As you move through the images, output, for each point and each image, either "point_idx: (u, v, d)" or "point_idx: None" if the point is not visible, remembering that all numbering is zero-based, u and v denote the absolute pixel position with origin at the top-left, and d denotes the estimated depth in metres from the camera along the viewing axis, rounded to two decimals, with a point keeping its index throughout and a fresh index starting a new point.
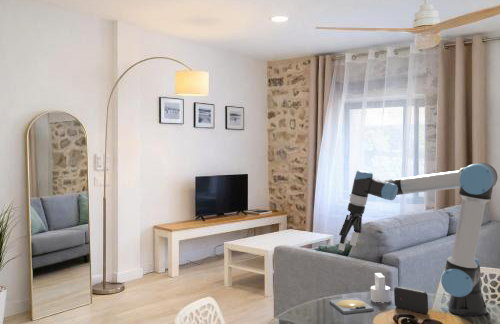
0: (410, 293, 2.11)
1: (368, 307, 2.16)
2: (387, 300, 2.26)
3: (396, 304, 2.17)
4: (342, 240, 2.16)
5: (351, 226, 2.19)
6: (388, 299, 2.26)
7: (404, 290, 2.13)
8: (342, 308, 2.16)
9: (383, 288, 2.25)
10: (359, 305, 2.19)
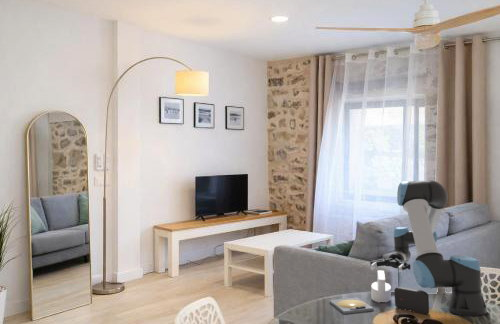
0: (411, 293, 2.10)
1: (368, 307, 2.16)
2: (386, 300, 2.26)
3: (396, 304, 2.16)
4: None
5: (384, 260, 2.50)
6: (387, 299, 2.26)
7: (405, 290, 2.13)
8: (342, 308, 2.16)
9: (382, 289, 2.24)
10: (359, 305, 2.19)
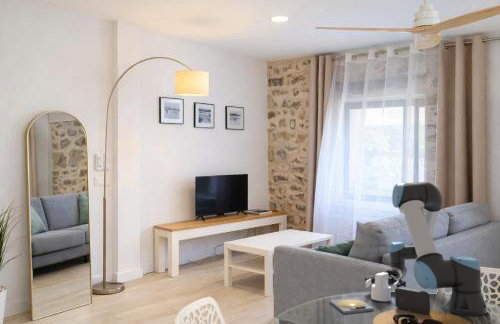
0: (412, 294, 2.10)
1: (368, 307, 2.16)
2: (381, 299, 2.26)
3: (397, 305, 2.15)
4: None
5: None
6: (383, 298, 2.26)
7: (405, 291, 2.12)
8: (342, 308, 2.16)
9: (378, 286, 2.26)
10: (359, 305, 2.19)
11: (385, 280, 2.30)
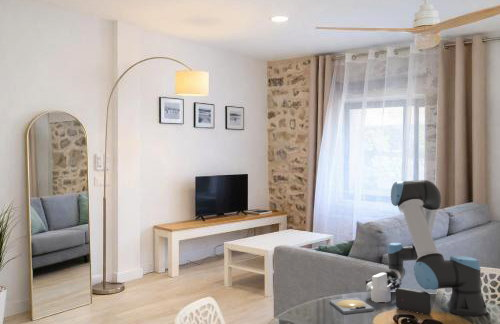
0: (412, 294, 2.09)
1: (368, 307, 2.16)
2: (380, 300, 2.26)
3: (397, 305, 2.15)
4: None
5: None
6: (382, 300, 2.26)
7: (406, 291, 2.12)
8: (342, 308, 2.16)
9: (376, 288, 2.26)
10: (359, 305, 2.19)
11: (383, 280, 2.29)
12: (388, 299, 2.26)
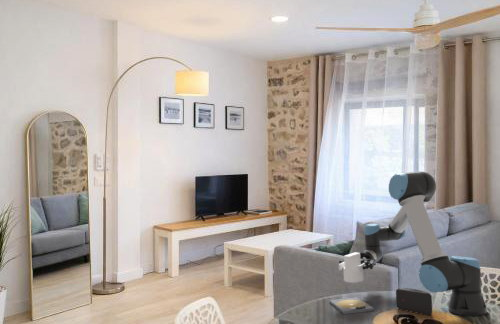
0: (413, 294, 2.09)
1: (368, 307, 2.16)
2: (352, 280, 2.20)
3: (398, 306, 2.14)
4: None
5: None
6: (354, 279, 2.20)
7: (407, 292, 2.11)
8: (342, 308, 2.16)
9: (348, 267, 2.21)
10: (359, 305, 2.19)
11: (356, 260, 2.24)
12: (360, 279, 2.21)
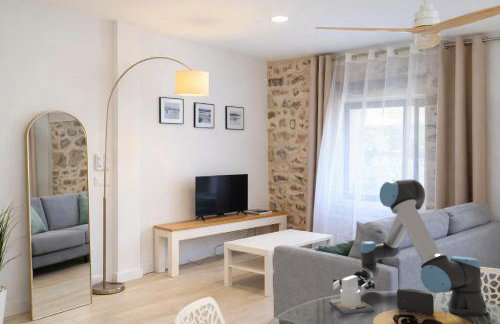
0: (415, 295, 2.08)
1: (368, 307, 2.16)
2: (350, 304, 2.18)
3: (399, 306, 2.13)
4: None
5: None
6: (351, 303, 2.18)
7: (408, 292, 2.10)
8: (342, 308, 2.16)
9: (345, 291, 2.19)
10: (359, 305, 2.19)
11: (353, 284, 2.22)
12: (358, 303, 2.19)
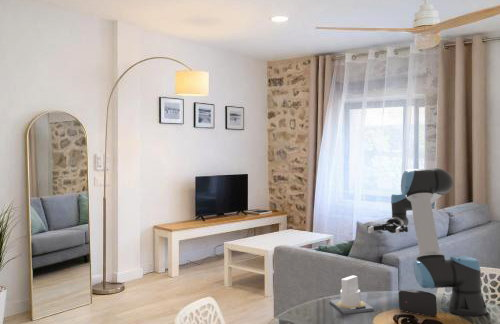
0: (417, 296, 2.07)
1: (368, 307, 2.16)
2: (349, 304, 2.18)
3: (401, 308, 2.11)
4: None
5: (381, 225, 2.47)
6: (351, 303, 2.18)
7: (410, 293, 2.08)
8: (342, 308, 2.16)
9: (345, 291, 2.19)
10: (359, 305, 2.19)
11: (353, 284, 2.22)
12: (358, 303, 2.19)
